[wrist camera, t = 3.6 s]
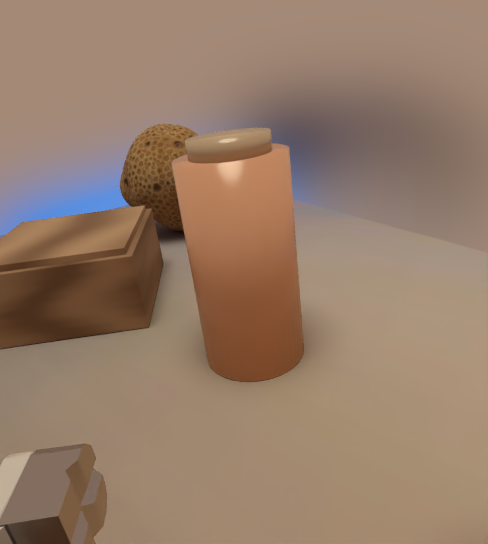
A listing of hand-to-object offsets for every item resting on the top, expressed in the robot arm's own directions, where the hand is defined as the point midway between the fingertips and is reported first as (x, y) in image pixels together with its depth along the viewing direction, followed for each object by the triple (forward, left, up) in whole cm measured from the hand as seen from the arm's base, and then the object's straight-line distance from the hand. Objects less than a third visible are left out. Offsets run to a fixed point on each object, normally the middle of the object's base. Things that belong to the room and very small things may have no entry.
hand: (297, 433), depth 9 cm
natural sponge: (-5, +35, -6) cm, 36 cm away
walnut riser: (-11, +21, -6) cm, 25 cm away
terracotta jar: (0, +12, -6) cm, 14 cm away
